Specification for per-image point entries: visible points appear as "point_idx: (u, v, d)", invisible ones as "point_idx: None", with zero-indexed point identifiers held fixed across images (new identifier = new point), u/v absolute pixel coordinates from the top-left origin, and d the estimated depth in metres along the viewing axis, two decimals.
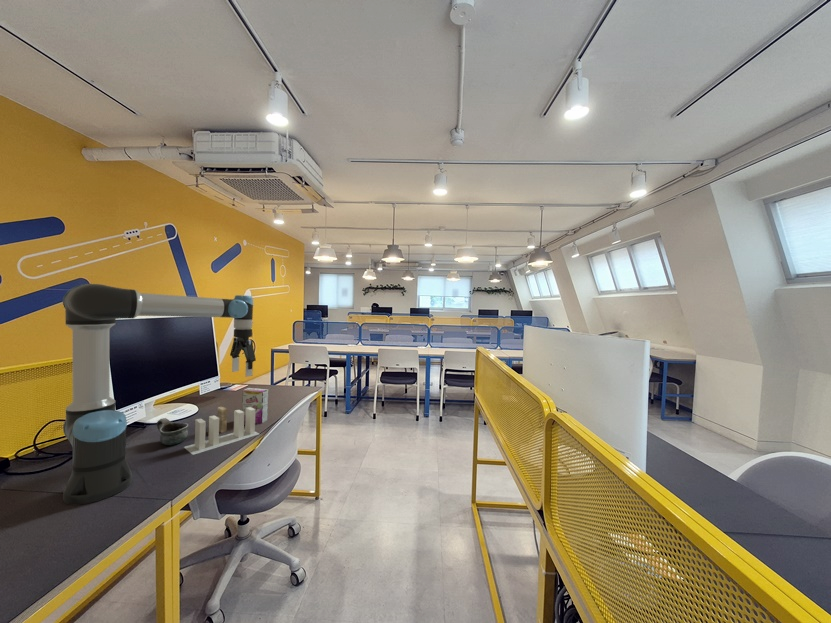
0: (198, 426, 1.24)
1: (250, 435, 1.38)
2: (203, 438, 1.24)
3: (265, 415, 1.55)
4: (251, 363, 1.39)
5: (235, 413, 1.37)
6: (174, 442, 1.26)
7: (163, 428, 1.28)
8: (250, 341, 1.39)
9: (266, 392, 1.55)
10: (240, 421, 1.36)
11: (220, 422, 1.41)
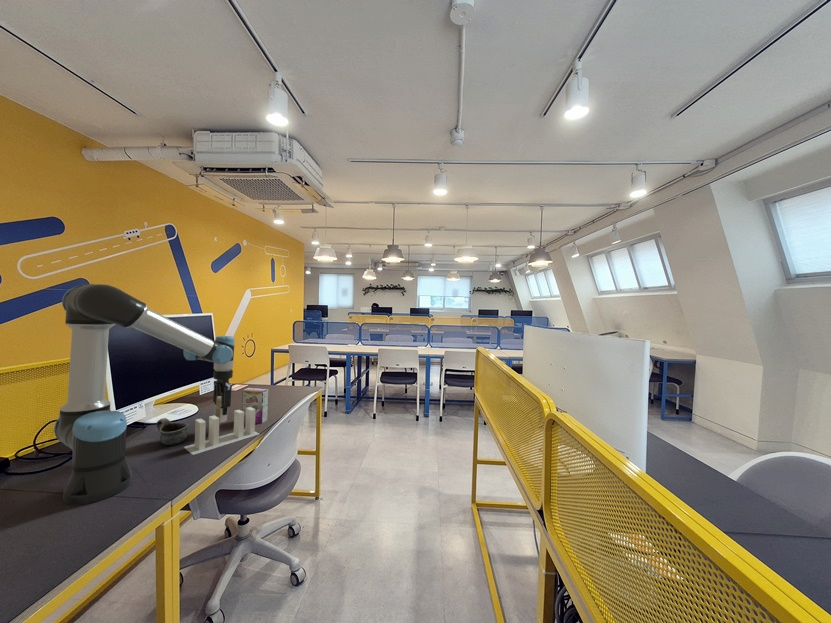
0: (198, 426, 1.24)
1: (250, 435, 1.38)
2: (203, 438, 1.24)
3: (265, 415, 1.55)
4: (226, 409, 1.39)
5: (235, 413, 1.37)
6: (174, 442, 1.26)
7: (163, 428, 1.28)
8: (229, 387, 1.38)
9: (266, 392, 1.55)
10: (240, 421, 1.36)
11: (218, 411, 1.40)
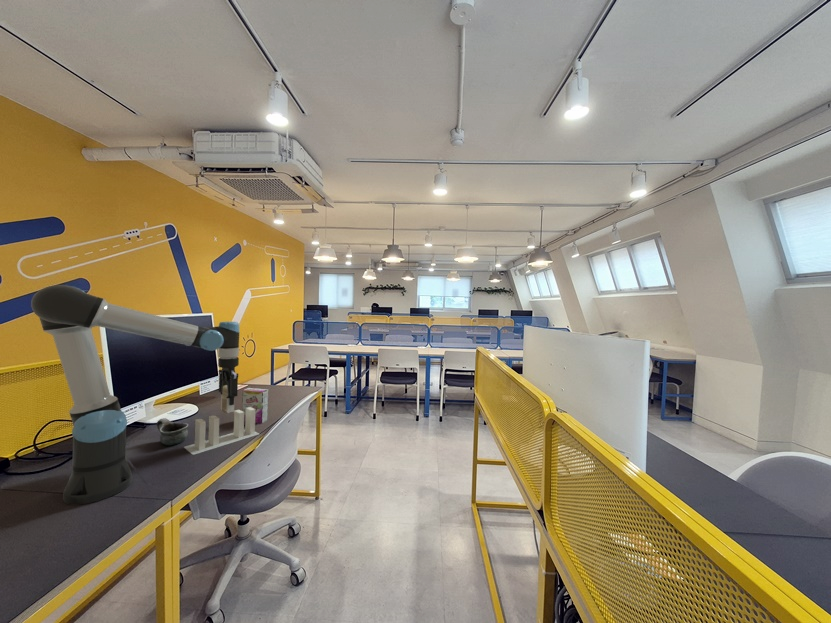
0: (198, 426, 1.24)
1: (250, 435, 1.38)
2: (203, 438, 1.24)
3: (265, 415, 1.55)
4: (233, 398, 1.31)
5: (235, 413, 1.37)
6: (174, 442, 1.26)
7: (163, 428, 1.28)
8: (236, 375, 1.30)
9: (266, 392, 1.55)
10: (240, 421, 1.36)
11: (225, 401, 1.32)
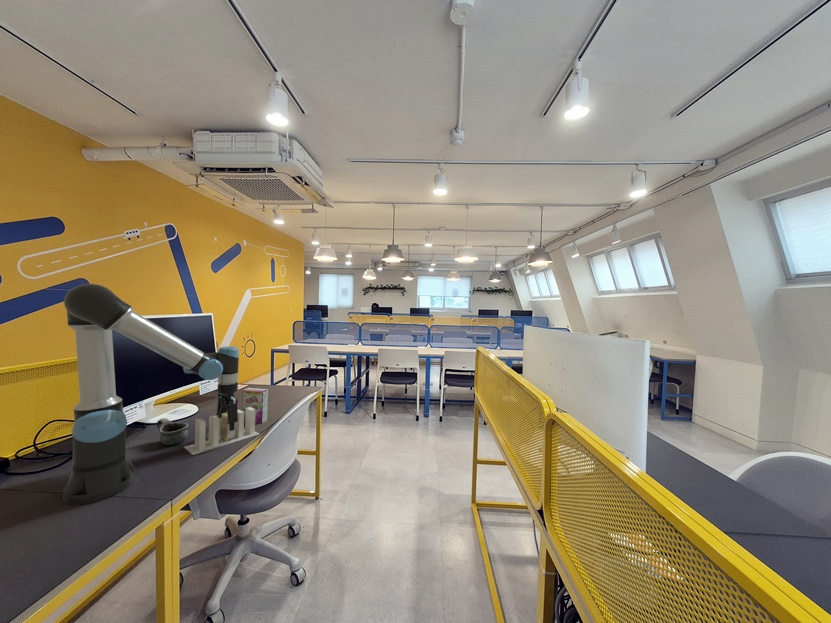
0: (198, 426, 1.24)
1: (250, 435, 1.38)
2: (203, 438, 1.24)
3: (265, 415, 1.55)
4: (233, 424, 1.30)
5: None
6: (174, 442, 1.26)
7: (163, 428, 1.28)
8: (235, 400, 1.30)
9: (266, 392, 1.55)
10: (240, 421, 1.36)
11: (224, 429, 1.32)
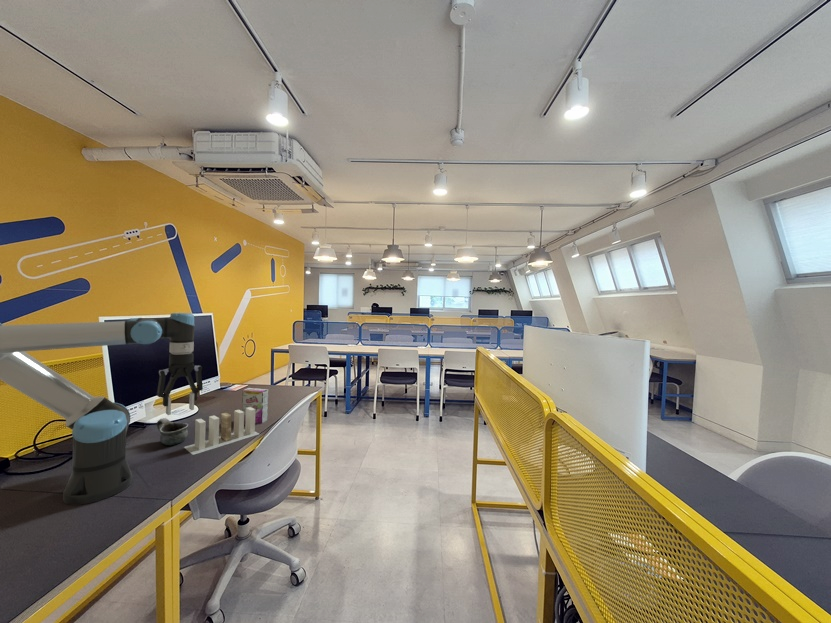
0: (198, 426, 1.24)
1: (250, 435, 1.38)
2: (203, 438, 1.24)
3: (265, 415, 1.55)
4: (163, 399, 1.15)
5: (235, 413, 1.37)
6: (174, 442, 1.26)
7: (163, 428, 1.28)
8: (159, 372, 1.14)
9: (266, 392, 1.55)
10: (240, 421, 1.36)
11: (224, 429, 1.32)
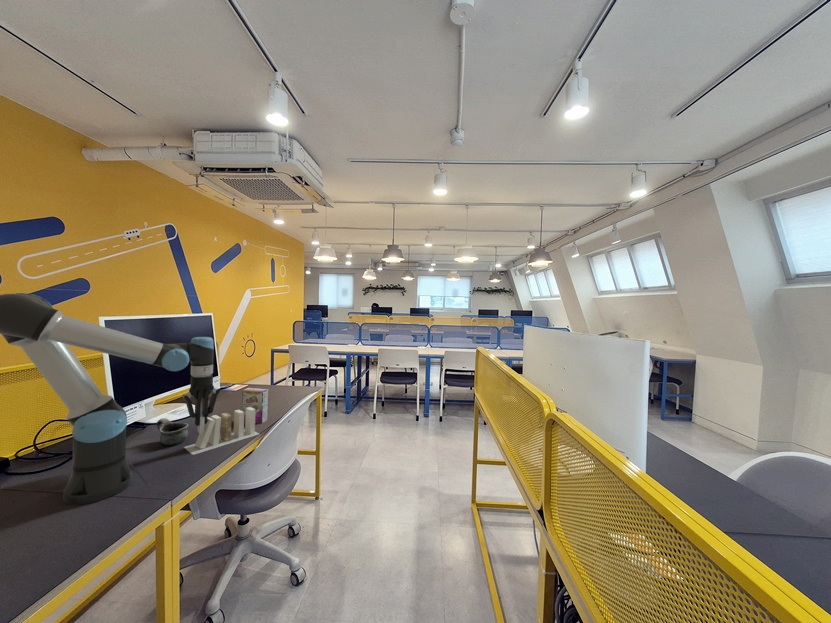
0: (207, 423, 1.27)
1: (250, 435, 1.38)
2: (207, 437, 1.26)
3: (265, 415, 1.55)
4: (195, 419, 1.24)
5: (235, 413, 1.37)
6: (174, 442, 1.26)
7: (163, 428, 1.28)
8: (183, 397, 1.20)
9: (266, 392, 1.55)
10: (240, 421, 1.36)
11: (224, 429, 1.32)
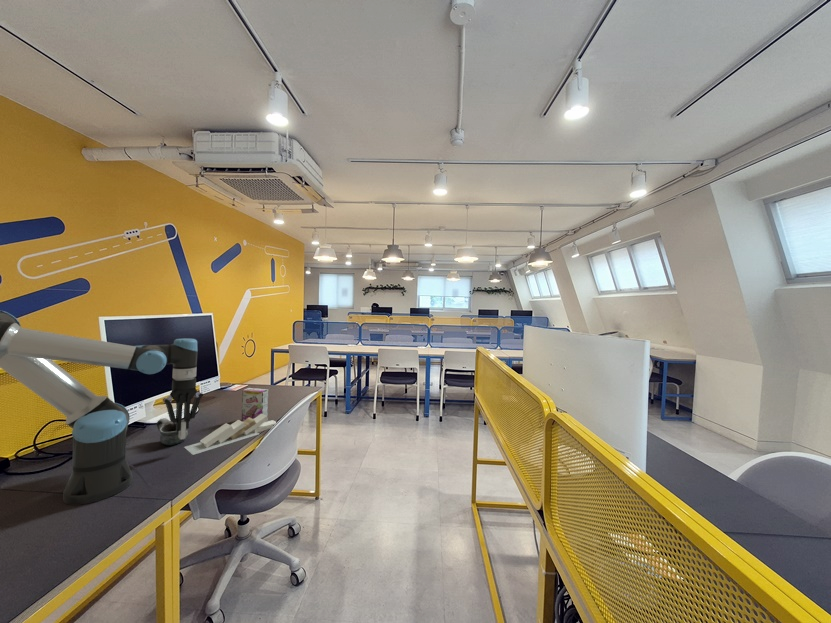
0: (225, 427, 1.32)
1: (250, 435, 1.38)
2: (216, 439, 1.28)
3: None
4: (176, 424, 1.19)
5: (261, 415, 1.47)
6: (174, 442, 1.26)
7: (163, 428, 1.28)
8: (164, 401, 1.15)
9: (266, 392, 1.55)
10: (259, 422, 1.43)
11: None
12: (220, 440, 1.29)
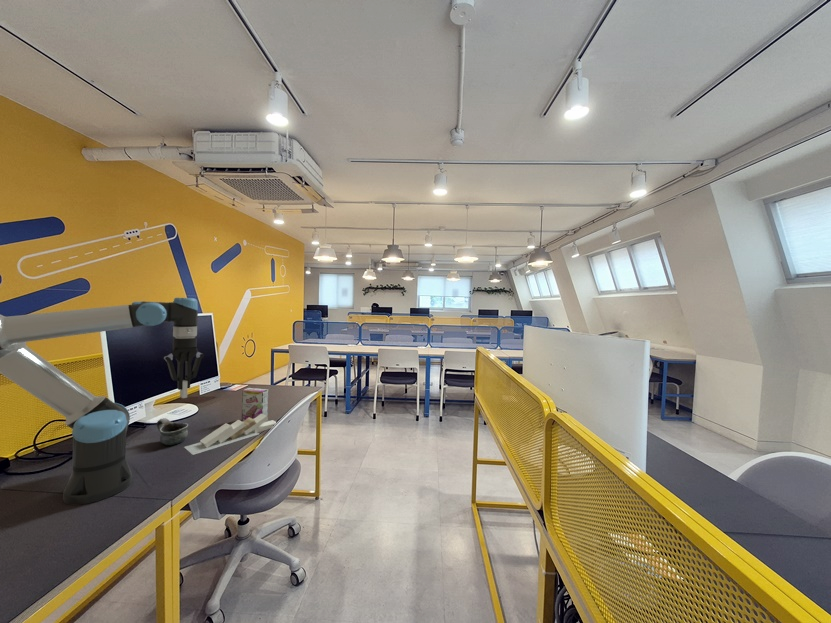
0: (225, 427, 1.32)
1: (250, 435, 1.38)
2: (216, 439, 1.28)
3: None
4: (178, 382, 1.19)
5: (261, 415, 1.47)
6: (174, 442, 1.26)
7: (163, 428, 1.28)
8: (165, 359, 1.15)
9: (266, 392, 1.55)
10: (259, 422, 1.43)
11: None
12: (220, 440, 1.29)
